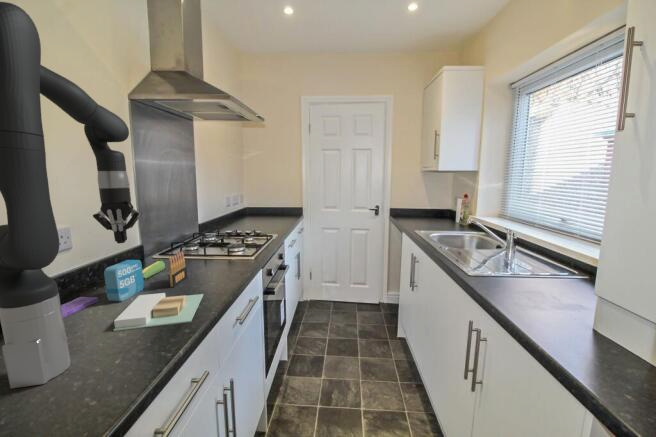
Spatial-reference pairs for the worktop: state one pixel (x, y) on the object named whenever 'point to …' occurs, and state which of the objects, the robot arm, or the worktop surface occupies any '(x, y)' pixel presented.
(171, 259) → the ammunition clip
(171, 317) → the mat
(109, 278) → the data package
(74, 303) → the sponges
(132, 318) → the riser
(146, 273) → the edible corn
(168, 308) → the coaster
